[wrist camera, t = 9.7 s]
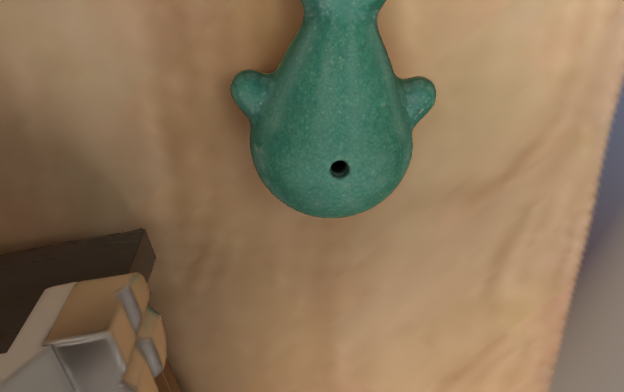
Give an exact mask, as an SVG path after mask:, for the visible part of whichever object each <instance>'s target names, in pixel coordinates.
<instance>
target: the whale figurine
mask: <svg viewBox="0 0 624 392" xmlns="http://www.w3.org/2000/svg"><path fill="white" fill-rule="evenodd" d="M385 1H386V0H301V2H302V5H303V8H304V18H303V21H302V24H301V26H300V28H299V29H298V31H297V33H296V35H295V36H294V38H293V40H292V41H291V43H290V45H289V47H288V48H287V50H286V52H285V54H284V56H283V58H282V60H281V62H280V64H279V66H278V67H277V69H276V70H275V71H273V72H271V73H262V72H259V71H256V70H252V69H249V70H244V71H241V72H239V73H238V74H237V75H236V76H235V78H234V79H233V81H232V84H231V94H232V97H233V99H234V101H235V103H236V104H237V105H238V106H239V108H240V109H241V110H242V111H243V113H244V114H245V115H246V116H247V117H248V119H249V121H250V125H251V132H250V148H251V155H252V159H253V163H254V166H255V168H256V171H257V173H258V175H259V177H260V179H261V180H262V182H263V183H264V184H265V186H266V187H267V188H268V189H269V191H270V192H271V193H272V194H273V195H274V196H275V197H277V198H278V199H279V200H280V201H282V202H283V203H284V204H286V205H287V206H289V207H291V208H293V209H295V210H297V211H299V212H302V213H304V214H307V215H311V216H316V217H322V218H340V217H347V216H352V215H355V214H358V213H361V212H364V211H366V210H369V209H370V208H372V207H374V206H376V205H377V204H379V203H380V202H381V201H383V200H384V199H385V198H386V197H387V196H389V195H390V194H391V193H392V192H393V191H394V189H395V188H396V187H397V186H398V184H399V183H400V181H401V180H402V178H403V176H404V175H405V173H406V171H407V169H408V166H409V163H410V160H411V157H412V148H413V142H412V130H413V128H414V127H415V125H416V124H417V123H418V122H419V121H420V120H421V119H422V118H423V117H424V116H425V115H426V114H427V113H428V111H429V110H430V109H431V108H432V106H433V105H434V103H435V98H436V90H435V87H434V84H433V83H432V82H431V81H430V80H428V79H427V78H425V77H421V76H416V77H412V78H408V79H401V78H398V77H397V76H396V75H395V74H394V72H393V69H392V66H391V63H390V60H389V57H388V54H387V51H386V49H385V46H384V44H383V41H382V39H381V36H380V34H379V31H378V27H377V15H378V12H379V10H380V9H381V7H382V6H383V4H384V3H385Z"/></svg>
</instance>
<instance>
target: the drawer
mask: <svg viewBox="0 0 624 392" xmlns="http://www.w3.org/2000/svg"><path fill="white" fill-rule="evenodd" d="M155 259H156V256H155V253H154V251H153V248H152V245H151V243H150V240H149V237H148V235H147V232H146V230H145V229H144V228H143V229H138V230H132V231H127V232H122V233H116V234H111V235H105V236H100V237H95V238H89V239H84V240H78V241H73V242H68V243H62V244H57V245H52V246H46V247H41V248H35V249H30V250H25V251H19V252H14V253H8V254H3V255H0V354H3V353H7V352H8V350H9V348H10V347H11V345H12V344H13V342H14V340H15V339H16V337H17V335H18V334H19V332H20V330H21V329H22V327H23V325H24V324H25V322H26V320H27V319H28V317H29V315H30V314H31V312H32V310H33V309H34V307H35V305H36V304H37V302H38V300H39V299H40V297H41V295H42V294H43V292H44V290H45V289H47V288H50V287H52V286H57V285H62V284H67V283H72V282H81V281H86V280H92V279H98V278H104V277H110V276H117V275H123V274H129V273H135V272H138V273H140V274H141V275H142V276H144V278H145V280H146V283H147V284H148V281H149V278H150V275H151V272H152V269H153V265H154V262H155ZM154 380H155V383H156V385H157V387H158V392H181V391H180V388H179V386H178V383H177V381H176V378H175V376H174V374H173V371H172V369H171V366H170V364H169V361H168V359H167V357H166V361H165V366H164V370H163V371H162V372H161V373H160V374H159V375H158V376H157V377H156V378H155V379H154Z"/></svg>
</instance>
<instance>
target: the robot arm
mask: <svg viewBox="0 0 624 392" xmlns="http://www.w3.org/2000/svg"><path fill="white" fill-rule="evenodd" d="M150 294H151V292H150V290H149V287H148V285H147V283H146V280H145V278H144V276H142V275H141V274H140V273H138V272H135V273H129V274H123V275H117V276H110V277H104V278H98V279H92V280H86V281H81V282H72V283H67V284H62V285H57V286H52V287H50V288H47V289H45V290H44V292H43V294H42V295H41V297H40V299H39V300H38V302H37V304H36V305H35V307H34V309H33V310H32V312H31V314H30V315H29V317H28V319H27V320H26V322H25V324H24V325H23V327H22V329H21V330H20V332H19V334H18V335H17V337H16V339H15V340H14V342H13V344H12V345H11V347H10V348H9V350H8V352H7V353H3V354H0V392H158V387H157V385H156V383H155V380H154V379H155V378H156V377H157V376H158V375H159V374H160V373H161V372H162V371H163V370H164V366H165V361H166V357H167V344H166V335H165V330H164V325H163V323H162V320H161V317H160V315H159V313H157V312H156V311H154V310H153V309H151V308H150V307H148V306H147V303H148V300H149V297H150Z"/></svg>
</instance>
